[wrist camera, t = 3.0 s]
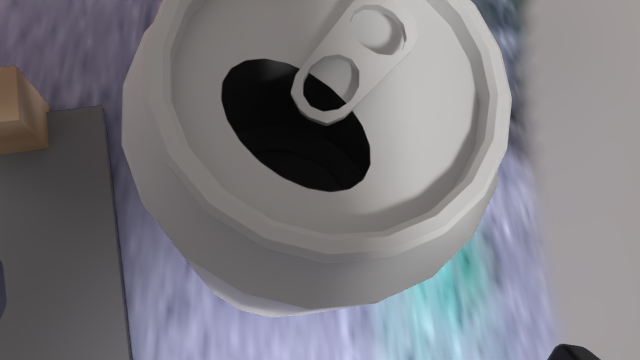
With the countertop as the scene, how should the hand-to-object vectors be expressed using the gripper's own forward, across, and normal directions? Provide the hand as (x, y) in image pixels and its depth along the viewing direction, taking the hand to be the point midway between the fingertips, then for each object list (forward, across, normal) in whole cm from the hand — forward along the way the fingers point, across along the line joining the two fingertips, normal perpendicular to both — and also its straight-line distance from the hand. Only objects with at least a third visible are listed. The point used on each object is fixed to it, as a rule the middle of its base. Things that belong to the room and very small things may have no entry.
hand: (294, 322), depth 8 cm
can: (+10, 0, +5) cm, 12 cm away
